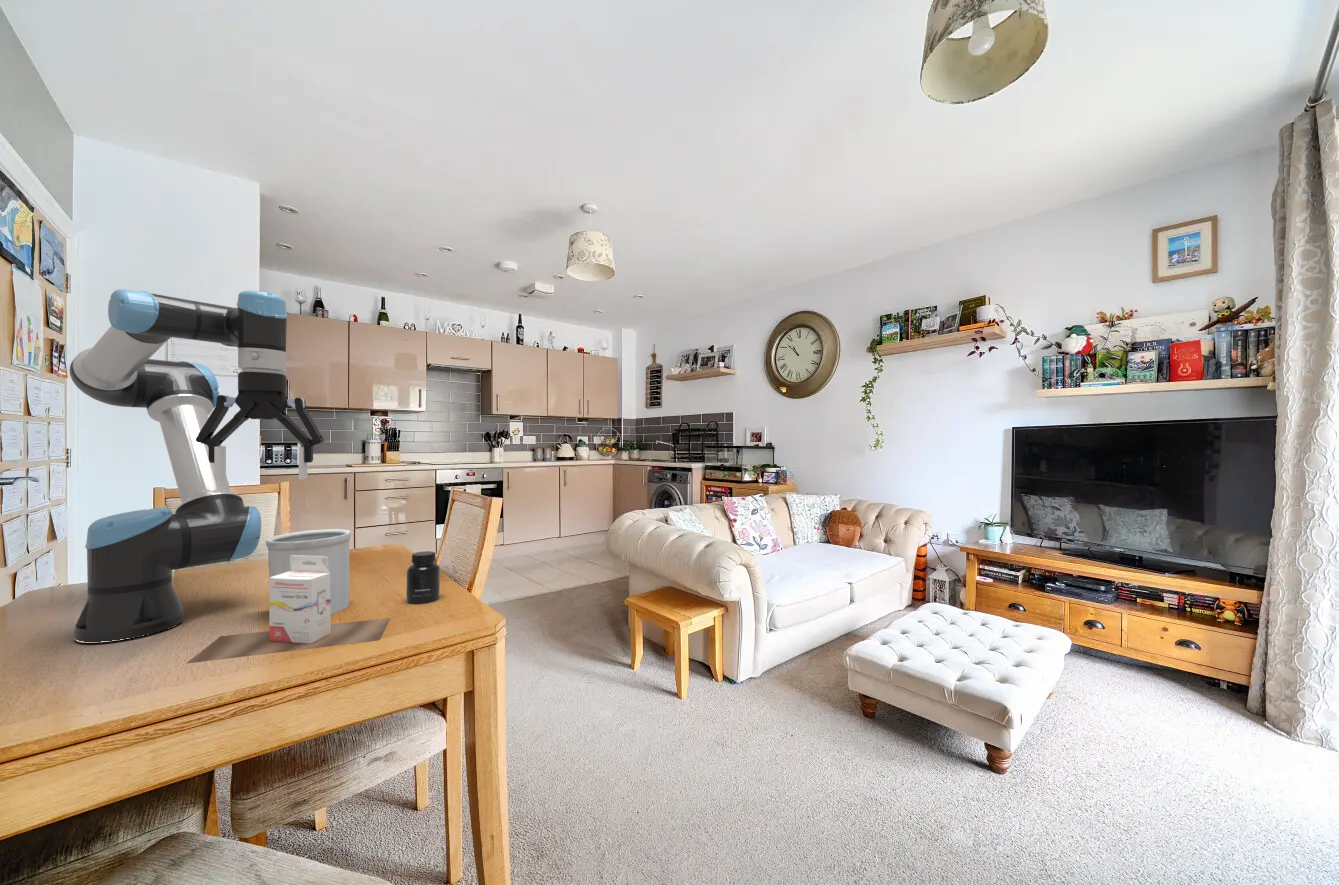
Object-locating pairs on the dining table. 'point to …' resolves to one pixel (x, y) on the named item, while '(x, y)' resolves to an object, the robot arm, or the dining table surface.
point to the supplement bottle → (423, 579)
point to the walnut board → (262, 645)
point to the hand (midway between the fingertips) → (262, 479)
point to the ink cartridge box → (300, 601)
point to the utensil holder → (315, 544)
